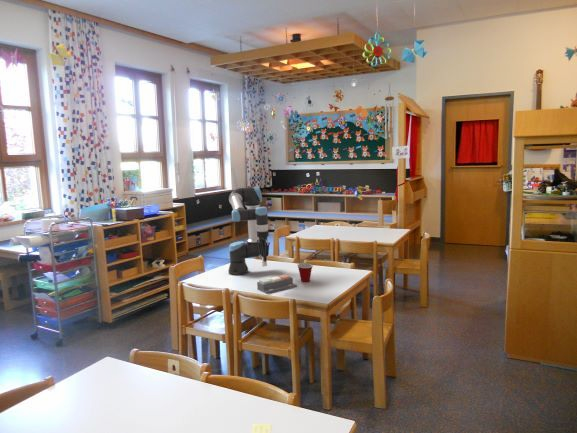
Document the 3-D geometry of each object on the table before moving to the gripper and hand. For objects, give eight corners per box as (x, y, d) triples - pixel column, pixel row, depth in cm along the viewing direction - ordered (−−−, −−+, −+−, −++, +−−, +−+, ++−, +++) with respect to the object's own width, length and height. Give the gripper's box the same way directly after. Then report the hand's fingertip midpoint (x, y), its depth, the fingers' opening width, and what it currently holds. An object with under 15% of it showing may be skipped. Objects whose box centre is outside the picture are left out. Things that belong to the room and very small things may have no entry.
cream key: (269, 282, 295) (268, 278, 295) (276, 280, 298) (276, 276, 298) (273, 284, 290) (273, 279, 290) (281, 282, 293) (281, 278, 293)
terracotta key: (278, 280, 299) (278, 275, 298) (285, 278, 302) (285, 274, 302) (283, 282, 294) (282, 277, 293) (290, 280, 297) (290, 276, 297)
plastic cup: (310, 284, 297) (309, 267, 295) (295, 283, 302) (294, 266, 300) (315, 280, 307) (315, 263, 305) (301, 278, 312) (301, 262, 310)
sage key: (259, 284, 291) (259, 280, 291) (267, 282, 294) (267, 278, 294) (264, 286, 286) (263, 282, 286) (271, 284, 289) (271, 280, 289)
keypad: (257, 289, 292) (257, 282, 291) (286, 282, 304) (286, 275, 303) (267, 294, 281) (266, 286, 281) (296, 286, 294) (296, 279, 293)
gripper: (252, 230, 288) (254, 265, 292) (262, 232, 277) (264, 268, 281) (262, 228, 292) (264, 263, 296) (272, 231, 281) (274, 266, 285)
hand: (264, 265), depth 288 cm, fingers closed
